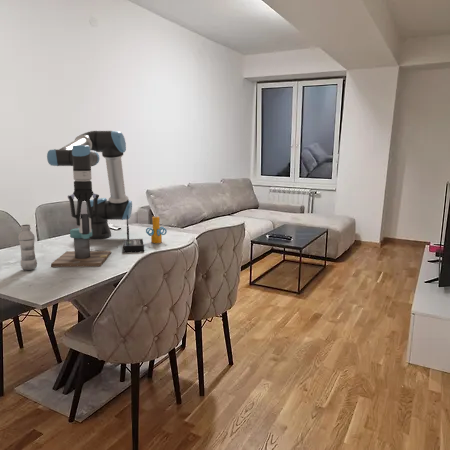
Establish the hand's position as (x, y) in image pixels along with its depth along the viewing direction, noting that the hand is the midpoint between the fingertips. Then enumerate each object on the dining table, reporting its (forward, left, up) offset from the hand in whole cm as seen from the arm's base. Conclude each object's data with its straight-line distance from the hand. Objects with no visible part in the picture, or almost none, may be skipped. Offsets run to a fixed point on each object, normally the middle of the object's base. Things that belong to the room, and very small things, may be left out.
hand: (85, 232), depth 177 cm
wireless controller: (-32, +16, -16) cm, 40 cm away
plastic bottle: (+6, -23, -16) cm, 29 cm away
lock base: (-9, -4, -16) cm, 19 cm away
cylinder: (-45, +28, -16) cm, 55 cm away
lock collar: (-6, -3, -4) cm, 8 cm away
